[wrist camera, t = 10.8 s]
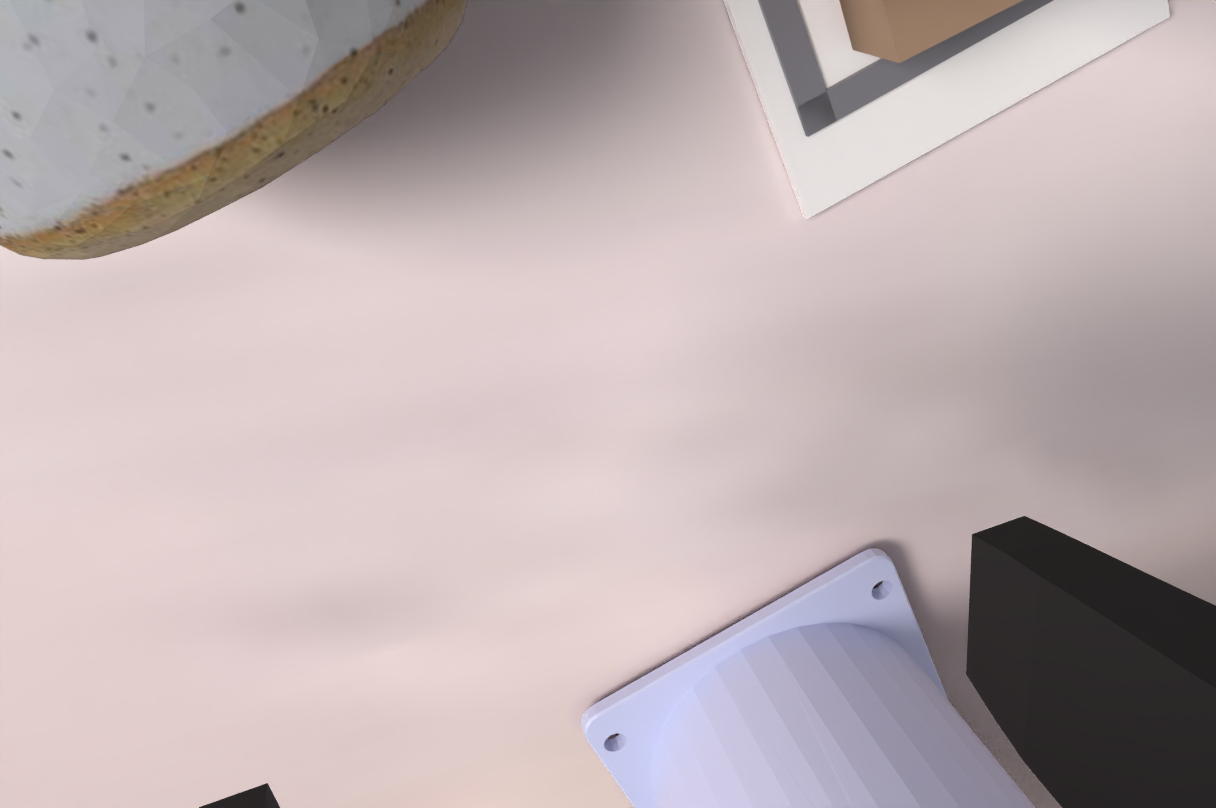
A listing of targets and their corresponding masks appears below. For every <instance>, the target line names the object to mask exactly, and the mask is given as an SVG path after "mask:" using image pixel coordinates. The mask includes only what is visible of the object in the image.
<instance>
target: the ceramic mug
mask: <svg viewBox="0 0 1216 808" xmlns="http://www.w3.org/2000/svg"><path fill="white" fill-rule="evenodd" d="M467 1H468V0H0V245H1V246H3V247H5V248H7V249H9V250H11V251H13V252H16V253H18V254H20V255H24V256H29V257H35V258H41V259H79V260H84V259H90V258H97V257H102V256H105V255H108V254H112V253H115V252H118V251H122V250H125V249H129V248H132V247H135V246H139V245H142V244H144V243H147V242H149V241H152V240H154V239H156V238H159V237H161V236H164V235H166V234H169V233H171V232H174V231H176V230H178V229H180V228H182V227H184V226H186V225H188V224H190V223H192V222H195V221H197V220H199V219H201V218H203V217H205V216H207V215H209V214H211V213H213V212H215V211H217V210H219V209H221V208H223V207H225V206H227V205H229V204H231V203H233V202H235V201H237V200H238V199H240V198H242V197H244V196H246V195H248V194H250V193H252V192H254V191H256V190H258V189H260V188H262V187H263V186H265V185H267V184H268V183H270V182H271V181H273V180H274V179H276V178H278V177H279V176H281V175H282V174H284V173H285V172H287V171H288V170H290V169H292V168H293V167H295V166H296V165H298V164H299V163H301V162H303V161H304V160H306V159H307V158H309V157H310V156H312V155H314V154H315V153H317V152H318V151H320V150H321V149H323V148H324V147H326V146H327V145H329V144H330V143H331V142H333V141H334V140H336V139H337V138H339V137H340V136H341V135H343V134H344V133H346V132H347V131H348V130H350V129H351V128H353V127H354V126H356V125H357V124H358V123H360V122H361V121H363V120H364V119H366V118H367V117H368V116H370V115H371V114H373V113H374V112H376V111H377V110H378V109H380V108H381V107H382V106H384V105H385V104H386V103H387V102H388V101H389V100H390V99H391V98H392V97H393V96H395V95H396V94H397V93H398V92H399V91H400V90H401V89H402V88H403V87H405V86H406V85H407V84H408V83H409V82H410V81H411V80H412V79H413V78H414V77H416V76H417V75H418V74H419V73H420V72H421V71H422V70H424V69H425V68H426V67H427V66H428V65H430V64H431V63H432V62H433V61H434V60H435V59H436V58H437V57H438V55H439V54H440V53H441V52H442V51H443V50H444V49H445V47H446V46H447V45H448V44H449V43H450V41H451V39H452V38H453V36H454V34H455V33H456V31H457V29H458V28H459V26H460V25H461V23H462V19H463V15H464V12H465V8H466V4H467Z"/></svg>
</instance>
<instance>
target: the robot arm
mask: <svg viewBox="0 0 1216 808" xmlns="http://www.w3.org/2000/svg"><path fill="white" fill-rule="evenodd" d="M881 581H883V582H882V584H881V585H880V586H878V587H877V588H875V589H873V587H874V586H875V585H876V584H877V583H878V582H881ZM966 674H967V676H968V678H969V679H970V681H971V682H972V684H973V685H974V687H975V689H976V690H977V692H978V693H979V695H980V696H981V698H982V699H983V701H984V703H985V704H986V706H987V707H988V709H989V710H990V712H991V714H992V715H993V717H994V718H995V720H996V721H997V723H998V724H999V726H1000V727H1001V729H1002V730H1003V732H1004V733H1005V735H1006V736H1007V737H1008V739H1009V740H1010V742H1011V743H1012V745H1013V746H1014V748H1015V749H1016V751H1017V752H1018V754H1019V755H1020V757H1021V758H1022V759H1023V761H1024V762H1025V763H1026V764H1027V766H1028V767H1029V768H1030V769H1031V770H1032V772H1033V773H1034V774H1035V775H1036V777H1037V778H1038V779H1039V780H1040V781H1041V783H1042V784H1043V785H1044V786H1045V787H1046V789H1047V790H1048V791H1049V792H1050V793H1051V794H1052V796H1053V797H1054V798H1055V799H1056V800H1057V802H1058V803H1059V804H1060V805H1061V806H1062V808H1216V606H1215V605H1213V604H1211V603H1209V602H1206V601H1204V600H1202V599H1200V598H1198V597H1196V596H1194V595H1191V594H1189V593H1187V592H1185V591H1183V590H1181V589H1179V588H1176V587H1174V586H1172V585H1170V584H1168V583H1166V582H1164V581H1162V580H1160V579H1157V578H1155V577H1153V576H1151V575H1149V574H1147V573H1145V572H1143V571H1141V570H1139V569H1136V568H1134V567H1132V566H1130V565H1128V564H1126V563H1124V562H1122V561H1120V560H1118V559H1116V558H1113V557H1111V556H1109V555H1107V554H1105V553H1103V552H1101V551H1099V550H1097V549H1095V548H1093V547H1090V546H1088V545H1086V544H1084V543H1082V542H1080V541H1078V540H1076V539H1074V538H1071V537H1069V536H1067V535H1065V534H1063V533H1061V532H1059V531H1057V530H1054V529H1052V528H1050V527H1048V526H1046V525H1043V524H1041V523H1039V522H1037V521H1034V520H1032V519H1030V518H1028V517H1025V516H1023V517H1020V518H1017V519H1014V520H1012V521H1009V522H1006V523H1003V524H1000V525H997V526H995V527H992V528H989V529H986V530H983V531H980V532H978V533H975V534H972V551H971V575H970V599H969V623H968V647H967V671H966ZM581 726H582V729H583V731H584V734H585V737H586V739H587V741H588V742H589V744H590V745H591V747H592V748H593V749H594V751H595V752H596V754H597V755H598V756H599V758H600V759H601V761H602V762H603V764H604V765H605V766H606V768H607V769H608V771H609V772H610V774H611V775H612V776H613V778H614V779H615V781H616V782H617V784H618V785H619V786H620V788H621V789H622V791H623V792H624V794H625V795H626V796H627V798H628V799H629V801H630V802H631V803H632V805H633V806H634V808H1035V807H1034V805H1033V804H1032V803H1031V802H1030V800H1029V799H1028V798H1027V797H1026V796H1025V794H1024V793H1023V792H1022V791H1021V789H1020V788H1019V787H1018V786H1017V785H1016V783H1015V782H1014V781H1013V780H1012V778H1011V777H1010V776H1009V775H1008V774H1007V772H1006V771H1005V770H1004V769H1003V767H1002V766H1001V765H1000V764H999V762H998V761H997V760H996V759H995V758H994V756H993V755H992V754H991V753H990V751H989V750H988V749H987V748H986V747H985V745H984V744H983V743H982V742H981V740H980V739H979V738H978V737H977V736H976V734H975V733H974V732H973V731H972V729H971V728H970V727H969V726H968V725H967V723H966V722H965V721H964V720H963V718H962V717H961V716H960V715H959V713H958V712H957V711H956V710H955V709H954V707H953V706H952V705H951V704H950V702H949V700H948V698H947V695H946V693H945V690H944V688H943V685H942V683H941V680H940V678H939V675H938V673H937V670H936V668H935V665H934V663H933V660H932V658H931V655H930V653H929V650H928V648H927V645H926V643H925V640H924V638H923V635H922V633H921V630H920V628H919V625H918V622H917V620H916V617H915V615H914V612H913V610H912V607H911V605H910V602H909V600H908V597H907V595H906V592H905V590H904V587H903V585H902V582H901V580H900V577H899V575H898V572H897V570H896V567H895V565H894V563H893V561H892V560H891V559H890V558H889V556H888V555H887V554H886V553H885V552H884V551H883V550H880V549H878V548H872V549H868V550H865V551H862V552H861V553H859V554H857V555H855V556H853V557H852V558H850V559H848V560H846V561H845V562H843V563H841V564H839V565H838V566H836V567H834V568H832V569H831V570H829V571H827V572H825V573H824V574H822V575H820V576H818V577H817V578H815V579H813V580H811V581H810V582H808V583H806V584H804V585H803V586H801V587H799V588H797V589H796V590H794V591H792V592H790V593H789V594H787V595H785V596H783V597H782V598H780V599H778V600H776V601H775V602H773V603H771V604H769V605H768V606H766V607H764V608H762V609H761V610H759V611H757V612H755V613H753V614H752V615H750V616H748V617H746V618H745V619H743V620H741V621H739V622H738V623H736V624H734V625H732V626H731V627H729V628H727V629H725V630H724V631H722V632H720V633H718V634H717V635H715V636H713V637H711V638H710V639H708V640H706V641H704V642H703V643H701V644H699V645H697V646H696V647H694V648H692V649H690V650H689V651H687V652H685V653H683V654H682V655H680V656H678V657H676V658H675V659H673V660H671V661H669V662H668V663H666V664H664V665H662V666H660V667H659V668H657V669H655V670H653V671H652V672H650V673H648V674H646V675H645V676H643V677H641V678H639V679H638V680H636V681H634V682H632V683H631V684H629V685H627V686H625V687H624V688H622V689H620V690H618V691H617V692H615V693H613V694H611V695H610V696H608V697H606V698H604V699H603V700H601V701H599V702H597V703H596V704H594V705H592V706H591V707H590V708H588V709H587V710H586V711H585V713H584V714H583V716H582V719H581ZM616 733H617V734H619V735H617V736H616V737H615V738H612V739H607V738H608V737H609V736H610V735H613V734H616ZM199 808H280V807H279V805H278V803H277V801H276V799H275V797H274V795H273V793H272V791H271V789H270V787H269V785H268V783H267V784H264V785H261V786H258V787H255V788H253V789H250V790H247V791H244V792H241V793H238V794H236V795H233V796H230V797H227V798H224V799H221V800H219V801H216V802H213V803H210V804H207V805H204V806H202V807H199Z"/></svg>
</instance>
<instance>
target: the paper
mask: <svg viewBox="0 0 1216 808" xmlns="http://www.w3.org/2000/svg"><path fill="white" fill-rule="evenodd" d="M723 2H724V4H725V7H726V10H727V12H728V15H729V18H730V21H731V23H732V26H733V29H734V31H735V34H736V37H737V39H738V42H739V45H740V47H741V50H742V53H743V56H744V58H745V61H746V64H747V66H748V69H749V72H750V74H751V77H752V80H753V82H754V85H755V88H756V91H757V93H758V96H759V99H760V101H761V104H762V107H763V109H764V112H765V115H766V117H767V120H768V123H769V126H770V128H771V131H772V134H773V136H774V139H775V142H776V144H777V147H778V150H779V152H780V155H781V158H782V161H783V163H784V166H785V169H786V171H787V174H788V177H789V179H790V182H791V185H792V187H793V190H794V193H795V196H796V198H797V201H798V204H799V206H800V209H801V212H802V214H803V216H804V217H805V218H807V219H809V218H811V217H812V216H814V215H816V214H818V213H820V212H821V211H823V210H825V209H827V208H829V207H830V206H832V205H834V204H836V203H838V202H839V201H841V200H843V199H845V198H846V197H848V196H850V195H852V194H854V193H855V192H857V191H859V190H861V189H863V188H864V187H866V186H868V185H870V184H872V183H873V182H875V181H877V180H879V179H880V178H882V177H884V176H886V175H888V174H889V173H891V172H893V171H895V170H897V169H898V168H900V167H902V166H904V165H906V164H907V163H909V162H911V161H913V160H915V159H916V158H918V157H920V156H922V155H923V154H925V153H927V152H929V151H931V150H932V149H934V148H936V147H938V146H940V145H941V144H943V143H945V142H947V141H949V140H950V139H952V138H954V137H956V136H957V135H959V134H961V133H963V132H965V131H966V130H968V129H970V128H972V127H974V126H975V125H977V124H979V123H981V122H983V121H984V120H986V119H988V118H990V117H992V116H993V115H995V114H997V113H999V112H1000V111H1002V110H1004V109H1006V108H1008V107H1009V106H1011V105H1013V104H1015V103H1017V102H1018V101H1020V100H1022V99H1024V98H1026V97H1027V96H1029V95H1031V94H1033V93H1034V92H1036V91H1038V90H1040V89H1042V88H1043V87H1045V86H1047V85H1049V84H1051V83H1052V82H1054V81H1056V80H1058V79H1060V78H1061V77H1063V76H1065V75H1067V74H1068V73H1070V72H1072V71H1074V70H1076V69H1077V68H1079V67H1081V66H1083V65H1085V64H1086V63H1088V62H1090V61H1092V60H1094V59H1095V58H1097V57H1099V56H1101V55H1103V54H1104V53H1106V52H1108V51H1110V50H1111V49H1113V48H1115V47H1117V46H1119V45H1120V44H1122V43H1124V42H1126V41H1128V40H1129V39H1131V38H1133V37H1135V36H1137V35H1138V34H1140V33H1142V32H1144V31H1145V30H1147V29H1149V28H1151V27H1153V26H1154V25H1156V24H1158V23H1160V22H1162V21H1163V20H1165V19H1167V18H1169V17H1170V12H1169V5H1168V0H1023V1H1021V2H1019V3H1017V4H1015V5H1013V6H1011V7H1009V8H1007V9H1005V10H1003V11H1001V12H999V13H997V14H995V15H993V16H991V17H989V18H987V19H985V20H983V21H981V22H979V23H978V24H976V25H974V26H972V27H970V28H968V29H966V30H964V31H962V32H960V33H958V34H956V35H954V36H952V37H950V38H948V39H946V40H944V41H942V42H940V43H938V44H936V45H934V46H932V47H930V48H928V49H926V50H924V51H922V52H921V53H919V54H917V55H915V56H913V57H911V58H909V59H907V60H905V61H903V62H901V63H897V62H893V61H890V60H886V59H883V58H879V57H876V56H872V55H869V54H865V53H862V52H858V51H855V50H853V49H852V45H851V42H850V38H849V34H848V31H847V27H846V23H845V20H844V16H843V12H842V9H841V5H840V1H839V0H723Z"/></svg>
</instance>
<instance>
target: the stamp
mask: <svg viewBox="0 0 1216 808" xmlns="http://www.w3.org/2000/svg"><path fill="white" fill-rule="evenodd" d="M839 1H840V5H841V9H842V12H843V16H844V20H845V23H846V27H847V31H848V34H849V38H850V42H851V45H852V49H853V50H855V51H858V52H862V53H865V54H869V55H872V56H876V57H879V58H883V59H886V60H890V61H893V62H897V63H901V62H903V61H905V60H907V59H909V58H911V57H913V56H915V55H917V54H919V53H921V52H922V51H924V50H926V49H928V48H930V47H932V46H934V45H936V44H938V43H940V42H942V41H944V40H946V39H948V38H950V37H952V36H954V35H956V34H958V33H960V32H962V31H964V30H966V29H968V28H970V27H972V26H974V25H976V24H978V23H979V22H981V21H983V20H985V19H987V18H989V17H991V16H993V15H995V14H997V13H999V12H1001V11H1003V10H1005V9H1007V8H1009V7H1011V6H1013V5H1015V4H1017V3H1019V2H1021V1H1023V0H839Z"/></svg>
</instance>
